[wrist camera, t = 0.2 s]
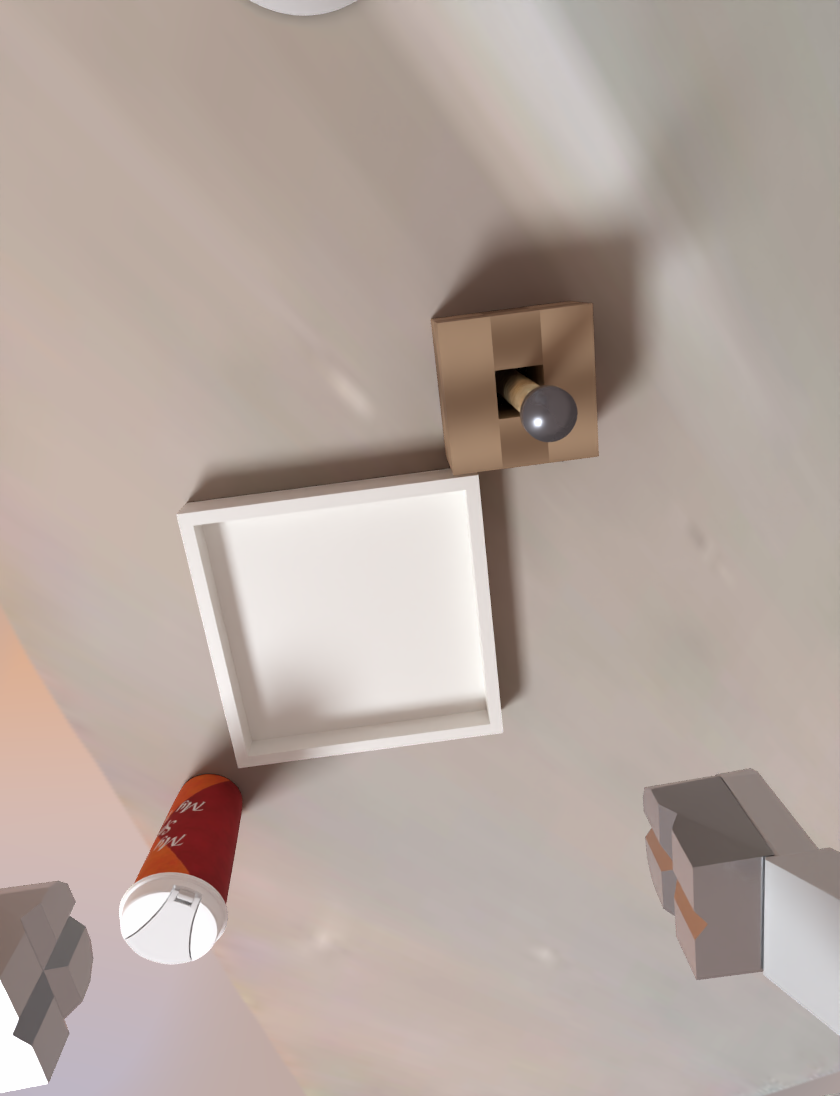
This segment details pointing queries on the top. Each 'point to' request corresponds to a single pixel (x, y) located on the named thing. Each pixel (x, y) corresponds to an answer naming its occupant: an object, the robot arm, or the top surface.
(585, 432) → the walnut block
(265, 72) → the top surface
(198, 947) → the paper cup
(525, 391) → the brass pin
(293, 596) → the off-white tray
